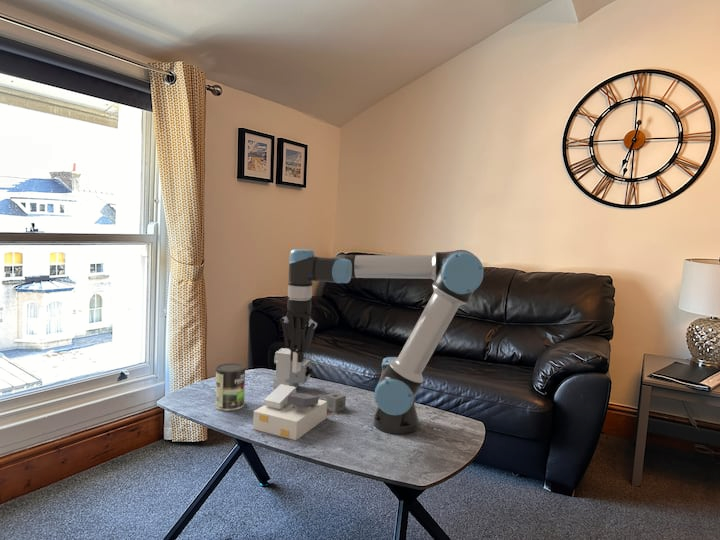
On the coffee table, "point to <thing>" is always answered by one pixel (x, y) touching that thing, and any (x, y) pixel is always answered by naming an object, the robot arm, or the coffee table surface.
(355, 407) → the coffee table surface
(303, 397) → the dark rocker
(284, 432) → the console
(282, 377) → the circuit breaker
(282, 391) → the block
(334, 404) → the dice cube
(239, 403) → the coffee can
